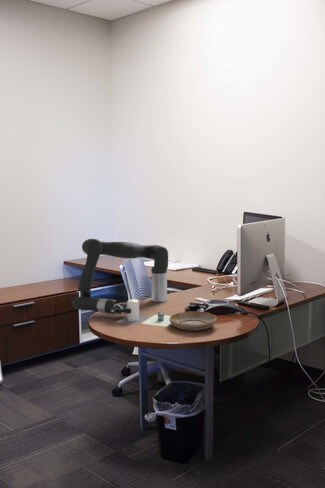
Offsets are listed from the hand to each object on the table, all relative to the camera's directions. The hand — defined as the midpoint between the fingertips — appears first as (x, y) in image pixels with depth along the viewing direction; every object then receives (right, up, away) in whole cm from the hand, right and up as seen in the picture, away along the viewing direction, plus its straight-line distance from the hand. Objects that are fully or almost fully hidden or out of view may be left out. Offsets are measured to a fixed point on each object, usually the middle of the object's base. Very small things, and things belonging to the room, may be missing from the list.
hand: (134, 309), depth 268 cm
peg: (+14, -6, -1) cm, 15 cm away
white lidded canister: (-1, -6, +1) cm, 6 cm away
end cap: (+34, -5, +7) cm, 35 cm away
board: (+14, -6, -1) cm, 15 cm away
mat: (-1, -6, +1) cm, 6 cm away
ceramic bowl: (+30, -8, -11) cm, 33 cm away
